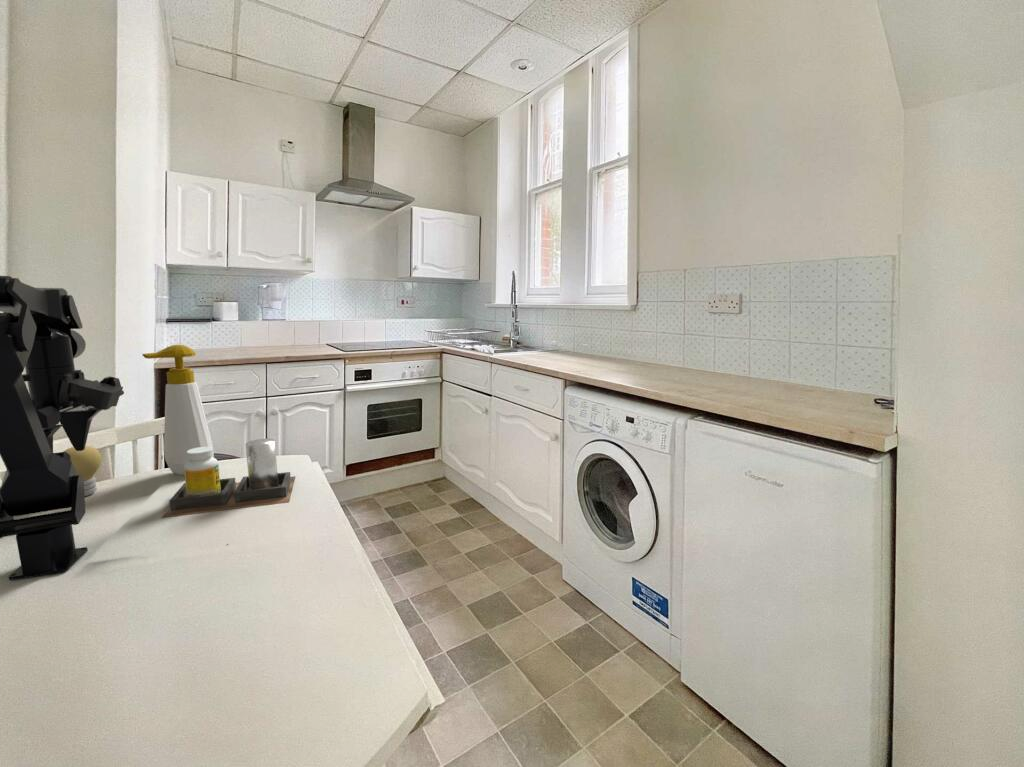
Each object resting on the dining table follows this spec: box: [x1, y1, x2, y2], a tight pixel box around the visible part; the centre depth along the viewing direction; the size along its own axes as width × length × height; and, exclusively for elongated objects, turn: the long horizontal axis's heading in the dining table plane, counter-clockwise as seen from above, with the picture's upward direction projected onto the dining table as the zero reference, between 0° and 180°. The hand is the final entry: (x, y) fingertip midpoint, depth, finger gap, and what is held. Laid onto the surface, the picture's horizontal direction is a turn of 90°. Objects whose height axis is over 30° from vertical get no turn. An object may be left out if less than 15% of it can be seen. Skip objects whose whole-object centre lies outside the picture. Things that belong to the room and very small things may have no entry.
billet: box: [245, 438, 279, 490], centre depth 91 cm, size 5×5×10 cm
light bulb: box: [62, 445, 103, 497], centre depth 93 cm, size 6×6×10 cm
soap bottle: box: [141, 344, 215, 476], centre depth 101 cm, size 13×10×29 cm
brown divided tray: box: [160, 471, 296, 519], centre depth 90 cm, size 14×20×4 cm
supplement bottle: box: [184, 447, 221, 497], centre depth 87 cm, size 5×5×10 cm
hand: (64, 458), depth 79 cm, fingers open, 9 cm apart
